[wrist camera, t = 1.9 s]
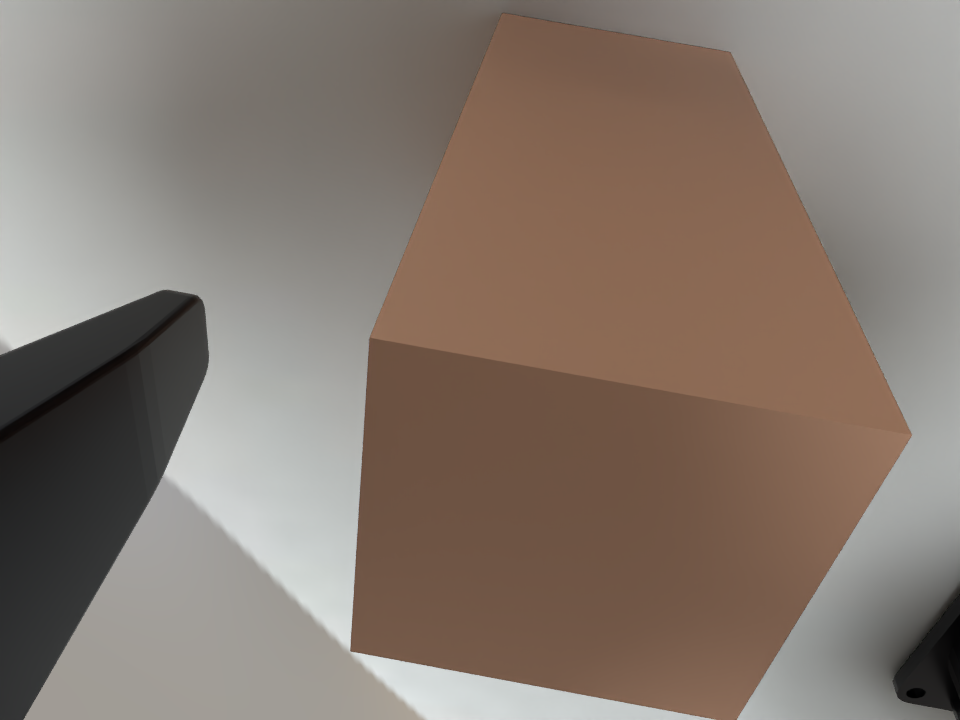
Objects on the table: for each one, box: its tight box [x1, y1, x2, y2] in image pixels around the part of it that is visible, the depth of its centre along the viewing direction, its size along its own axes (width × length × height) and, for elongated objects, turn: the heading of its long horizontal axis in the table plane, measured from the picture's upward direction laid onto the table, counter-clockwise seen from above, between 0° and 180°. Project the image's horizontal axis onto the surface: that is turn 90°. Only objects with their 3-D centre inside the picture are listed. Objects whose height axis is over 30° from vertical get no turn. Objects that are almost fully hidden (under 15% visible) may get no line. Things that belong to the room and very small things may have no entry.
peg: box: [350, 13, 912, 720], centre depth 11 cm, size 4×4×10 cm
